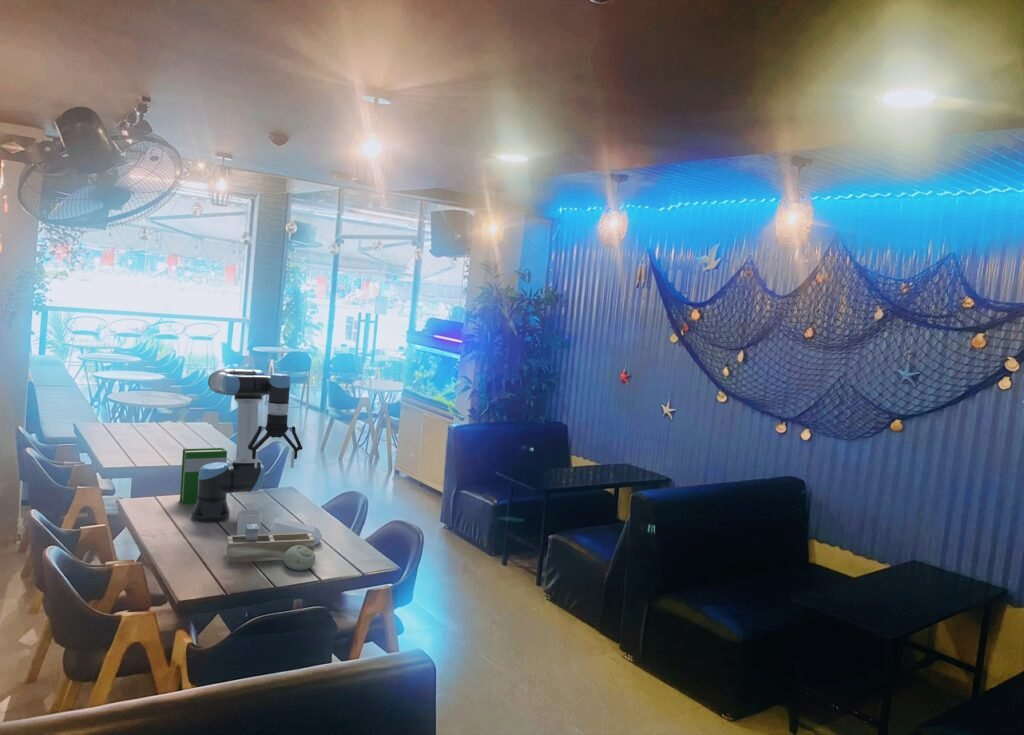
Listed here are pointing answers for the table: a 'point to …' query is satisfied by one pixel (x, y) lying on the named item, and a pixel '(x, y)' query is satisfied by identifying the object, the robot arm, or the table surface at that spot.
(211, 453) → the hardback book
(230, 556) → the well block
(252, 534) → the pale blue pillar block
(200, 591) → the table surface
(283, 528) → the crystal
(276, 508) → the table surface
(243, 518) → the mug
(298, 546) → the seashell
